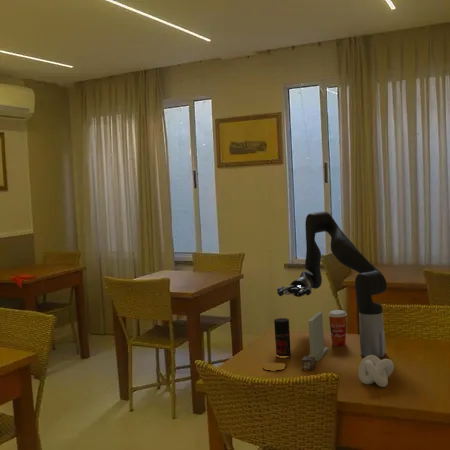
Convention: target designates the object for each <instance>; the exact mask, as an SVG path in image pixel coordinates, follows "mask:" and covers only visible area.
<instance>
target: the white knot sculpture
mask: <svg viewBox="0 0 450 450" xmlns="http://www.w3.org/2000/svg"><path fill="white" fill-rule="evenodd" d="M394 365H395V364H394V362H393V361H392V360H391V359H390V358H383V359H381V358H380V357H377V356H375V355H368V356H366V357H363V358H362V360H361V361H360V363H359V366H358V373H357V374H358V378H359V380H360V382H361V383H363V384H364V385H368V386H369V385H371V384H374V383H375V384H376V385H377V386H378V387H380V388H385V387H387V386H388V385H389V384H388V383H389V380H388V378H389V377H390V376H391V375H392V374H393V372H394V369H395V366H394Z"/></svg>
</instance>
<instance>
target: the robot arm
mask: <svg viewBox="0 0 450 450" xmlns="http://www.w3.org/2000/svg"><path fill="white" fill-rule="evenodd" d="M337 223H338V222H336V220H335V219H334V217H333V216H332V215H331V213H330V212H328V211H326V210H325V211H324V210H321V211H316V212H311V213H308V214H307V215H306V217H305V244H306V253H305V262H304V268H305V269H306V270H304V271H302V272H301V273H300V276H299V277H298V278H296V279H295V280H293V281H292V282H291V283H290V285H289V286H284V285H282V286H279V287H278V288H276V289H277V295H278V296H279V297H282V296H284V295H286V296H289V295H292V296H294V297H297V298H298V297H299V298H301V297H303V296H304V297H305V295H306V296H310V295H311V294H312V289H314V290H315V289H316V290H317V289H319V288H320V287H321V286H322V283H323V279H322V273H321V262H322V253H321V250H320V248H319V245H318V244H317V241H316V234H318V233H323V232H326V233H327V234H328V235H329V236H330V238H331V239H330V250H331V253H332V255H334V257H335V258H336V259H337V261H338V262H339V263H340V264H342V265H344V266H345V267H347V268H349V269H351V270H354V271H355V272H356V273H358V274H357V275H356V277H355V281H354V288H355V298H356V305H357V309H358V322H359V324H358V325H359V347H360V348H359V350H360V355H361V356H362V357H363V358H365V357H366V356H368V355H375V356H377V357H378V358H384V356H385V355H386V340H385V339H386V337H385V335H386V334H385V333H386V331H385V329H384V316H383V315H384V314H383V312H384V311H383V309H384V308H383V305H382V304H381V303H379V302H375V301H373V297H372V296H375V295H379V294H382V293H384V292H385V291H386V289H387V287H388V284H387V280H386V278H385V275H383V273H382V272H381V271H380V270H379V269H378V268H376V267H375V265H374V264H372V263H371V262H370V261H369V260H368V259H367V258H366V256H364V255H363V253H362V252H361V251H360V250H359V249H358V248H357V247H356V246H355V244H354V243H353V242H352V241H351V240H350V239H349V238H348V236H347V235H346V234H345V233H344V232H343V230H342V229H341V228H340V227H339V225H338V224H337Z"/></svg>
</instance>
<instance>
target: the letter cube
mask: <svg viewBox="0 0 450 450" xmlns="http://www.w3.org/2000/svg"><path fill="white" fill-rule="evenodd" d="M315 368H316V361H315V357H307V356H303V358H302V359H301V370H302V369H306V370H305V371H310V370H312V371H314V369H315Z"/></svg>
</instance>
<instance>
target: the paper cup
mask: <svg viewBox="0 0 450 450" xmlns="http://www.w3.org/2000/svg"><path fill="white" fill-rule="evenodd" d="M347 315H348V314H347V312H346V311H345V310H341V309H340V310H339V309H337V310H331V311H329V313H328V315H327V316H328V318H329V319H328V320H329V327H330V329H329V330H330V337H331V344H332V345H333V346H334V345H335V347H343V346H345V345H346V339H347V337H346V336H347V332H346V331H347V329H346V328H347Z"/></svg>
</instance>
